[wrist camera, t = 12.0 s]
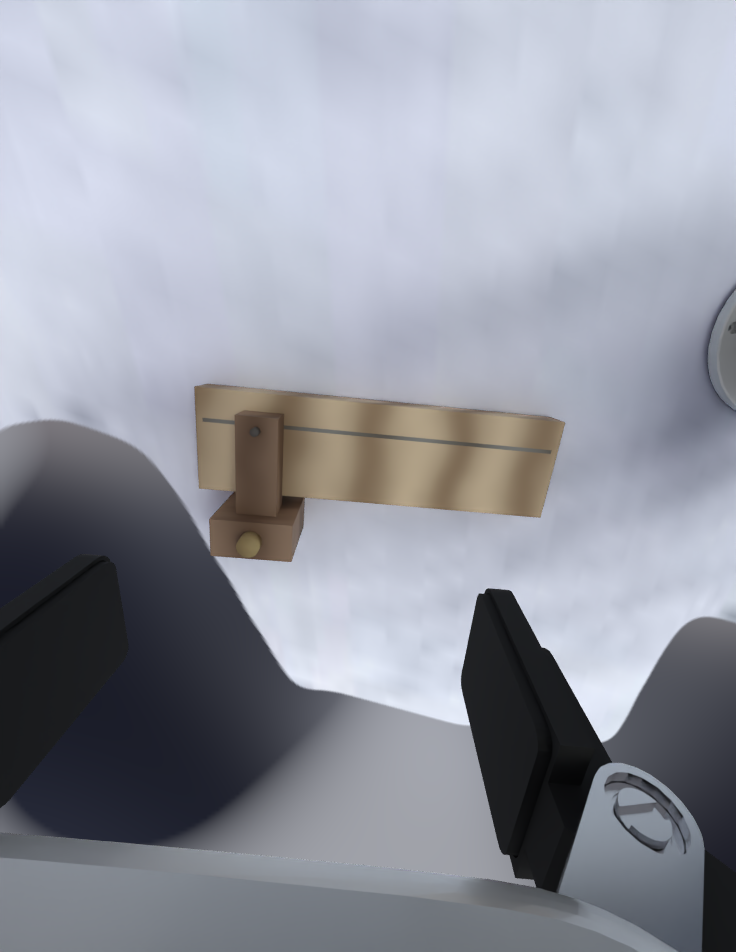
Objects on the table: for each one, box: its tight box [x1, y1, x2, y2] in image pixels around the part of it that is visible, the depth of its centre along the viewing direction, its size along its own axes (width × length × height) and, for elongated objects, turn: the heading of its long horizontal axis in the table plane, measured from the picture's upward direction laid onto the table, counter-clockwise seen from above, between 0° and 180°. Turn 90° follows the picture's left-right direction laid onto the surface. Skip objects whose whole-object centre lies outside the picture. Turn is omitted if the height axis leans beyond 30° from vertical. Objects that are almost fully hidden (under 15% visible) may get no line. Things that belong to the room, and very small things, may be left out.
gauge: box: [209, 410, 305, 562], centre depth 29 cm, size 6×11×7 cm, turn 174°
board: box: [194, 384, 565, 518], centre depth 31 cm, size 28×8×2 cm, turn 84°
